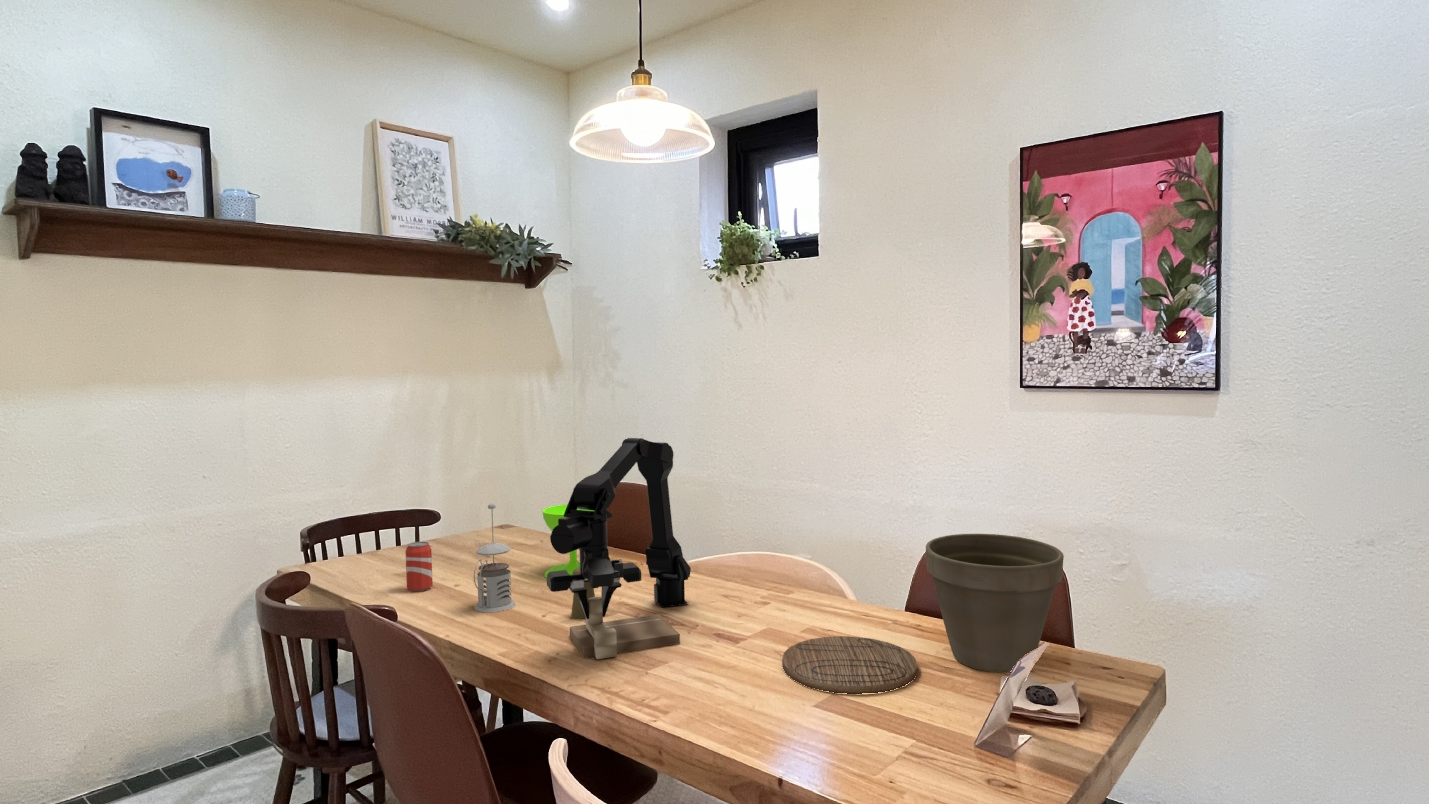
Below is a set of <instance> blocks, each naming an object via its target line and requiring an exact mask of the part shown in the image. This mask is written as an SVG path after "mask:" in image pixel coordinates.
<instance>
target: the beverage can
mask: <svg viewBox="0 0 1429 804" xmlns="http://www.w3.org/2000/svg"><path fill="white" fill-rule="evenodd" d="M432 553H433V552H432V548H431V546H430V543H429V542H428V541H414V542H410V543H408V544H407V547H406V549H405V573H406V575H405V577H406V589H408V590H409V591H410V592H414V593H417V592H418V593H419V592H420V593H421V592H425V591H427V590H430V588H431V587H433V586H434V585H433V560H432V559H433V558H432V556H433V555H432Z"/></svg>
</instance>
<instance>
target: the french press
mask: <svg viewBox="0 0 1429 804" xmlns="http://www.w3.org/2000/svg"><path fill="white" fill-rule="evenodd" d="M487 509H488V510H491V533H492V536H491V537H492V538H491V539H492V540H491V541H492V542H490V543H486V544H484V545H482V546H480V547H478V548H477V549H476V550H475V553H476V554H477V555H479V556H486V557H487V556H488V557H489V556H492V562H490V563H488V560H487V559H484V561H483V562H482V560H481V559H478V561H477V562H476V565H475V567H474V570H473V582H474V587H475V588H476V590H477V599H478V600H477V601H478V603H476V604H475V606H474V608H473V610H475V611H477V612H479V613H497V612H498V611H500V612H503V611H502V610H504V611H508V610H510V608H511V609H513V608H515V606H516V604H517V603H516V602H515V601H514V600H513V599H512V592H511V591H512V587H511V586H512V582H511V579H512V576H511V570H510V569H508V568H509V567H510V564H508V563H506V562H495V556H498V555H503V554H506V553H508V552H509V551H511V547H510V546H508V545H506V544H504V543H499V542H494V520H493V519H494V517H493V515H494V513H493V510H494V509H497V506H496V504H495V503H494V502H493V503H492V502H491V503H489V504H488V505H487ZM479 562H480V565H479V566H478V564H479ZM477 566H478V570H479V572H477V573H476V570H477ZM476 575H477V583H476ZM484 578H485V579H484ZM485 594H486V595H485ZM507 609H508V610H507ZM498 613H499V612H498Z"/></svg>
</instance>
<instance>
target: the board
mask: <svg viewBox="0 0 1429 804" xmlns="http://www.w3.org/2000/svg"><path fill="white" fill-rule="evenodd" d="M602 624H603V625H604V626H605V627H606V629H611V628H614V629H615V630H616V639H617V654H620V653H628V652H634V651H639V650H647V649H653V648H659V647H660V648H661V647H665V646H673V645H678V644H679V645H680V644H681V635H680V633H679V631H677V630H676V629H675V628H674V627H673V626H672V624H670V623H669V622H668V621H667V620H666V619H665V618H664V617H663V616H662V615H661V614H660V613H658V614H652V615H651V614H650V615H643V616H637V617H635V616H634V617H630V618H629V617H628V618H622V619H617V620H616V619H614V620H608V621H603V623H602ZM569 638H570V639H571V640H572V641H573V644H574V645H575V646H576V648H577V650H578V652H579V653H580V655H581V656H582V657H583V659H589V658H596V657H595V652H594V638H593V637H592V635H591V634H590V632H589V631H588V630H587V628H586V624H580V625H573V626H569Z"/></svg>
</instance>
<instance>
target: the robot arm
mask: <svg viewBox="0 0 1429 804" xmlns="http://www.w3.org/2000/svg"><path fill="white" fill-rule="evenodd" d="M636 464H637V468H638V471H639V472H640V474H641V476H642V477H643V478H644V480H645V481H646V487H647V489H646V490H647V498H648V500H647V501H648V506H649V507H648V508H649V517H650V526H651V527H650V528H651V537H652V538H651V539H652V540H651V542H650V544H649V546H648V547H647V548H645V551H644V553H645V559H646V561H645V565H646V566H647V570H648V573H649V577H650V579H653V578H654V579H655V583H654V584H653V595H654V597H653V601H654V602H655V603H656V604H657V605H659V607H661V608H668V607H674V606H682V605H683V606H684V605H688V601H687V600H686V598H685V597H686V596H685V581H687V580H689V578H690V577H691V569H692V568H691V566H690V565H689V563H688V562H687V561H686V559H685V557H684V554H683V550H682V546H681V545H680V543H679V541H677V539H676V538H675V536H674V530H673V529H674V528H673V521H672V510H671V509H672V508H671V501H670V500H671V499H670V492H669V491H670V490H669V480H668V478H669V476H670V473H671V472H672V470H673V467H674V450H673V446H671V445H670V444H669V443H668V442H659V441H658V442H655V441H649V440H647V439H644V438H643V437H641V438H638V437H627V438H625V439H623V441H622V442H621V445H620V447H618V449H617V450H616V451H615V452H614V454H613V455H612V456H611V457H610V458H609V459H607V460H606V462H605V463H604V465H603V466H602V467H601V468H600V469H599V470H598V471H597V472H596V473H594V474H590V475H587V476H586V477H584V478H583V479H581V480H580V481H579V482H577V483H576V484H575V486H574V488H573V491H572V493H571V495H570V497H569V501H568V503H567V504H566V505H567V508H566V510H565V513H564V517H567V518H560V519H558V525H557V526H556V527H555V528H554V529H553V531H551V534H550V536H549V539H550V544H551V546H552V548H553V549H554V551H556V552H557V553H559V554H561V555H565V554H570V552H572V551H575V550H578V551H579V563H580V573H578V574H568V572H567V571H566V570H561V571H553V572H549V573H548V574H547V578H546V586H547V587H548V589H549V591H550V592H553V593H554V592H555V593H556V592H563V591H568V590H569V591H570V592H571V593H572V594H574V593H576V595H577V597H578V599H579V601H580V604H581V606H582V609H583V612H584V614H585V617H586V619H589V610H588V602H587V589H586V588H585V587H584V582H589V585H590V587H591V588H594V589H599V588H601V596H600V597H601V598H602V606H603V618H605V617H606V615H607V614H606V613H607V612H608V609H609V608H608V607H609V605H610V602H611V599H612V597H613V594H614V593H615V591H616V590H617V589H618V588H622V585H623V584H622V583H621V582H620V581H621V579H623V580H624V581H625V582H626V583H628V584H629V583H635V582H641V581H642V570H641V568H640V567H639V566H638V565H636V564H635V563H634V562H625V563H624V562H623V560H622V559H619V558H618V559H614V560H613V559H612V560H611V559H610V555H609V549H608V519H611V518H613V514H612V513H611V512H610V511H609V510H608V509H609V507H610V506H611V504H612V502H614V499H615V498H616V488H617V487H618V485H619V483H621V482H622V480H624V478H625V477H626V476H627V474H628V473H629V472H630V471H631V470H632V469H633V467H634V466H635V465H636ZM577 508H578V509H581V510H577ZM586 510H593V511H586ZM585 577H587V578H585ZM586 619H585V620H586Z"/></svg>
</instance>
